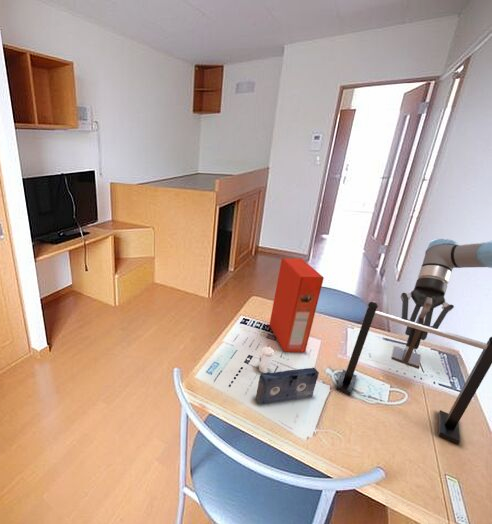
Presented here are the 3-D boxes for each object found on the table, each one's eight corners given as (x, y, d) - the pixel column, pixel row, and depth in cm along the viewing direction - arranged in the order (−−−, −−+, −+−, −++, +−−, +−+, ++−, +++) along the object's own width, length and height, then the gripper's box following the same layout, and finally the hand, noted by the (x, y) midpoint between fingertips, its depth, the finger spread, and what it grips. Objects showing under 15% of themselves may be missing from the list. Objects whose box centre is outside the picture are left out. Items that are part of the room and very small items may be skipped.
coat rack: (456, 421, 88) (507, 331, 76) (458, 445, 82) (514, 350, 69) (342, 373, 106) (368, 293, 94) (335, 389, 99) (363, 306, 87)
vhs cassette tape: (307, 391, 99) (314, 366, 95) (313, 398, 96) (320, 373, 92) (254, 397, 96) (259, 372, 92) (258, 404, 94) (264, 379, 90)
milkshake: (259, 362, 111) (263, 339, 107) (272, 370, 107) (278, 347, 103) (252, 368, 108) (256, 345, 104) (266, 376, 105) (271, 353, 101)
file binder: (283, 351, 117) (300, 276, 104) (268, 326, 132) (281, 258, 120) (305, 352, 116) (324, 277, 104) (287, 326, 132) (302, 258, 120)
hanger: (419, 356, 102) (444, 299, 94) (418, 369, 97) (445, 309, 88) (393, 347, 106) (415, 292, 98) (391, 359, 101) (414, 301, 92)
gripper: (457, 293, 100) (439, 359, 94) (402, 280, 108) (382, 340, 103) (465, 283, 94) (446, 353, 89) (406, 271, 103) (385, 334, 98)
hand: (412, 346), depth 96 cm, fingers closed on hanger
